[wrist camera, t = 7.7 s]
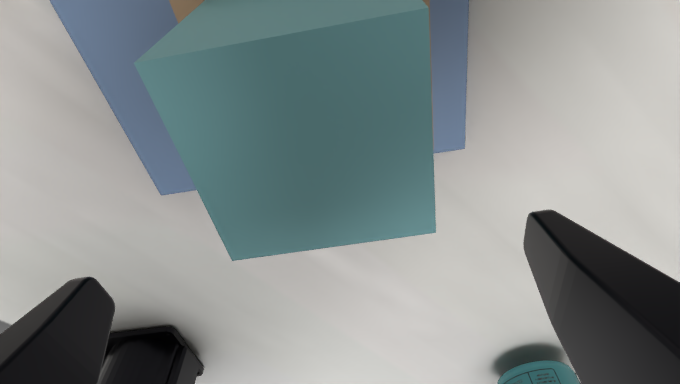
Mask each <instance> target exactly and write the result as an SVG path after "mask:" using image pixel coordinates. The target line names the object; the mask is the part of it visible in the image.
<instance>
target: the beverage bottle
mask: <svg viewBox="0 0 680 384" xmlns="http://www.w3.org/2000/svg"><path fill="white" fill-rule="evenodd" d="M498 384H582V383H580V382H579V380H578V378H577V376H576V373H574V371H573V370H572V369H571V368H570V367H569V366H568V365H566V364H564V363H562V362H558V361H550V360H544V361H535V362H529V363H525V364H522V365H519V366H517V367H514V368H512V369H510V370H509V371H507V372H505V373H504V374H503V375H502V376H501V377H500V379H499V380H498Z"/></svg>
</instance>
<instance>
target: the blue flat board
mask: <svg viewBox="0 0 680 384" xmlns="http://www.w3.org/2000/svg"><path fill="white" fill-rule="evenodd" d="M50 2H51V4H52V5H53V7H54V9H55V11H56V12H57V14H58V16H59V18H60V19H61V21H62V23H63V25H64V26H65V28H66V30H67V32H68V33H69V35H70V37H71V39H72V40H73V42H74V44H75V46H76V47H77V49H78V51H79V53H80V54H81V56H82V58H83V60H84V61H85V63H86V65H87V67H88V68H89V70H90V72H91V74H92V75H93V77H94V79H95V81H96V82H97V84H98V86H99V88H100V89H101V91H102V93H103V95H104V96H105V98H106V100H107V102H108V103H109V105H110V107H111V109H112V110H113V112H114V114H115V116H116V117H117V119H118V121H119V123H120V124H121V126H122V128H123V130H124V131H125V133H126V135H127V137H128V138H129V140H130V142H131V144H132V145H133V147H134V149H135V151H136V152H137V154H138V156H139V158H140V159H141V161H142V163H143V165H144V166H145V168H146V170H147V172H148V173H149V175H150V177H151V179H152V180H153V182H154V184H155V186H156V187H157V189H158V191H159V193H160V194H161V195H167V194H174V193H180V192H187V191H193V190H197V189H196V187H195V185H194V183H193V181H192V179H191V177H190V175H189V173H188V171H187V169H186V167H185V165H184V163H183V161H182V159H181V157H180V155H179V153H178V151H177V149H176V147H175V145H174V143H173V141H172V139H171V137H170V135H169V133H168V131H167V129H166V127H165V125H164V123H163V121H162V119H161V117H160V115H159V113H158V111H157V109H156V107H155V105H154V103H153V101H152V99H151V97H150V95H149V93H148V91H147V89H146V87H145V85H144V83H143V81H142V79H141V77H140V75H139V73H138V71H137V69H136V67H135V65H134V62H135V61H137V60H138V59H139V58H140V57H141V56H142V55H143V54H145V53H146V52H147V51H148V50H149V49H150V48H151V47H152V46H154V45H155V44H156V43H157V42H158V41H159V40H160V39H162V38H163V37H164V36H165V35H166V34H167V33H168V32H169V31H171V30H172V29H173V28H174V27H175V26H176V25H177V24H178V21H177V19H176V17H175V14H174V12H173V9H172V7H171V4H170V2H169V0H50ZM468 11H469V0H430V32H431V67H432V103H433V139H434V149H433V153H440V152H446V151H453V150H459V149H465V119H466V83H467V47H468Z"/></svg>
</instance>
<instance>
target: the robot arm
mask: <svg viewBox="0 0 680 384" xmlns="http://www.w3.org/2000/svg"><path fill="white" fill-rule="evenodd" d="M524 251H525V255H526V257H527V260H528V263H529V265H530V268H531V271H532V273H533V276H534V279H535V281H536V284H537V287H538V290H539V292H540V295H541V298H542V300H543V303H544V306H545V308H546V311H547V314H548V316H549V319H550V321H551V324H552V326H553V328H554V330H555V332H556V334H557V336H558V338H559V340H560V342H561V344H562V346H563V348H564V350H565V352H566V354H567V356H568V358H569V360H570V362H571V364H572V366H573V368H574V370H575V372H576V373H577V375H578V377H579V379H580V381H581V383H582V384H680V282H678V281H676V280H675V279H673V278H671V277H669V276H668V275H666V274H664V273H662V272H661V271H659V270H657V269H655V268H654V267H652V266H650V265H648V264H647V263H645V262H643V261H641V260H640V259H638V258H636V257H634V256H633V255H631V254H629V253H627V252H626V251H624V250H622V249H620V248H619V247H617V246H615V245H613V244H612V243H610V242H608V241H607V240H605V239H603V238H601V237H600V236H598V235H596V234H594V233H593V232H591V231H589V230H587V229H586V228H584V227H582V226H580V225H579V224H577V223H575V222H573V221H572V220H570V219H568V218H566V217H565V216H563V215H561V214H559V213H558V212H556V211H554V210H542V211H536V212H531V213H530V214H529V215H528V217H527V223H526V229H525V236H524ZM114 312H115V304H114V301H113V299H112V298H111V296H110V295H109V294H108V293H107V292H106V291H105V289H104V288H103V287H102V286H101V285H100V283H99V282H98V281H97V280H96V279H95V278H93V277H84V278H77V279H73V280H70V281H68V282H67V283H66V284H64V285H63V286H62V287H61V288H59V289H58V290H57V291H55V292H54V293H53V294H52V295H50V296H49V297H48V298H46V299H45V300H44V301H43V302H41V303H40V304H39V305H37V306H36V307H35V308H33V309H32V310H31V311H30V312H28V313H27V314H26V315H24V316H23V317H22V318H21V319H19V320H18V321H17V322H15V323H14V324H13V325H12V326H10V327H9V328H8V329H6V330H5V331H4V332H3V333H1V334H0V384H195V380H196V376H201V375H202V374H203V370H204V368H203V366H202V365H201V364H200V362H199V361H198V360H197V358H196V357H195V356H194V354H193V353H192V351H191V350H190V349H189V347H188V346H187V345H186V343H185V342H184V341H183V339H182V338H181V337H180V335H179V334H178V333H177V331H176V330H175V329H174V328H172V327H159V328H151V329H143V330H135V331H127V332H118V333H110V329H111V325H112V321H113V316H114Z"/></svg>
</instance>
